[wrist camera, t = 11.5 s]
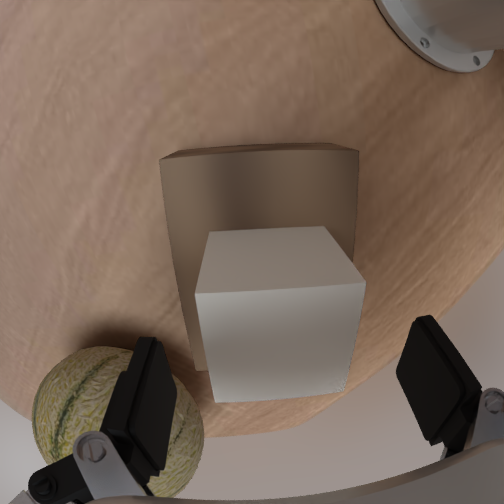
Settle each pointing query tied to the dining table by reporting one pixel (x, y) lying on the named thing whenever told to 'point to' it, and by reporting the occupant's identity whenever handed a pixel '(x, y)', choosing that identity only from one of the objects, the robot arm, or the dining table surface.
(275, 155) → the walnut block
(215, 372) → the cream cube
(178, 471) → the cantaloupe
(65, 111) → the dining table surface
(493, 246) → the dining table surface
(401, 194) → the dining table surface
